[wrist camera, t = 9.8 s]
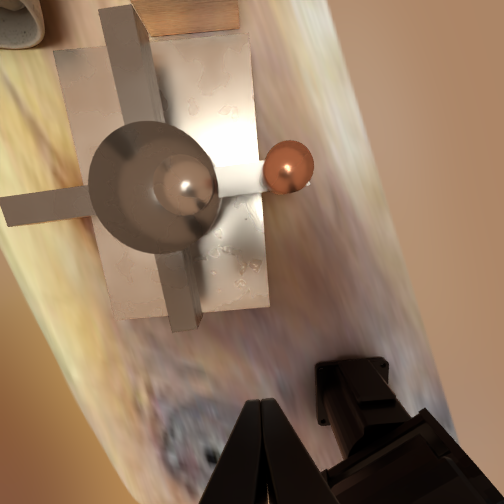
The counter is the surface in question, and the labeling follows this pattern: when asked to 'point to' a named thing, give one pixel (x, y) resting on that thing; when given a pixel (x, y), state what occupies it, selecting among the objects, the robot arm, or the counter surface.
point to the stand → (201, 130)
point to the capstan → (157, 176)
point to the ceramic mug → (21, 24)
